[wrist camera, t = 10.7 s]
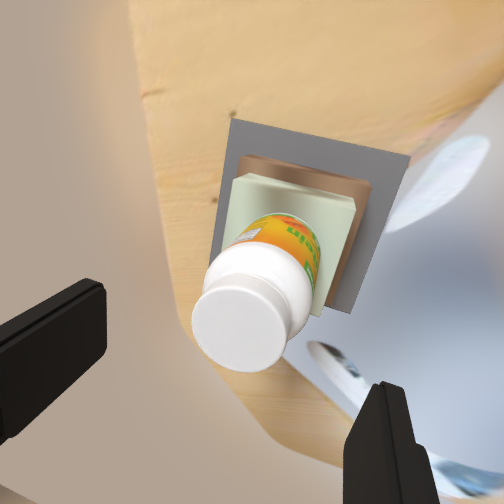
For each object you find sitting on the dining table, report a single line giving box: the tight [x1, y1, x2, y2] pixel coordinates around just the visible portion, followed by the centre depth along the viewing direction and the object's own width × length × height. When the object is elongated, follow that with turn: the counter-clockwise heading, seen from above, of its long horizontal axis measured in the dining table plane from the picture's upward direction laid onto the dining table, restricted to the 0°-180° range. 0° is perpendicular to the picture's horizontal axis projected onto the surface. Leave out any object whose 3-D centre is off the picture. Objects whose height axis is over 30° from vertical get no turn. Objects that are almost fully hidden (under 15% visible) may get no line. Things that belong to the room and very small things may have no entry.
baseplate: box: [208, 118, 411, 314], centre depth 29 cm, size 15×15×1 cm
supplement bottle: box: [191, 213, 321, 373], centre depth 16 cm, size 5×5×10 cm
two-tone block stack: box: [221, 154, 372, 317], centre depth 25 cm, size 10×10×8 cm
